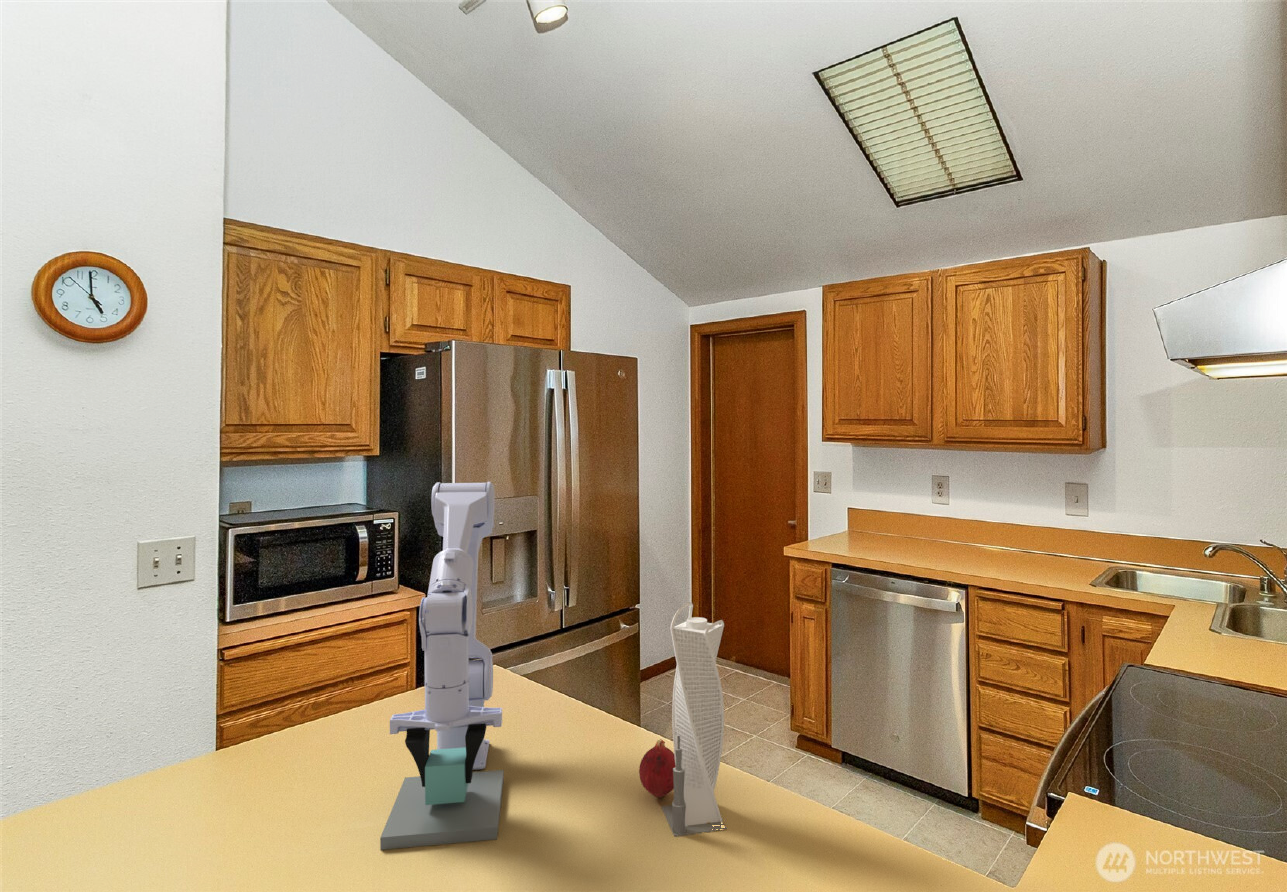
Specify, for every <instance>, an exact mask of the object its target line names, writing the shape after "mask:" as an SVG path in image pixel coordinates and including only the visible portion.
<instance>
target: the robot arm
mask: <svg viewBox="0 0 1287 892" xmlns="http://www.w3.org/2000/svg"><path fill="white" fill-rule="evenodd" d="M431 489H432V490H431V499H430V501H431V504H430V505H431V515H432V517H433V521H434V527H435V529H436V531H437V535H439V536H440V537H443V539H442V550H441V551H439V552H438V553H437V554H436V555H435V556H434V558H433V561H432V566H431V571H430V578H429V584H428V590H427V594H426V595H427V597H425V596H422V598H421V600H420V605H419V609H418V610H419V612H418V613H419V614H418V625H419V632H420V636H421V649H422V651H424V709H421V710H420V709H419V710H413V711H408V712H403V713H394V714H392V716H391V717H390V719H389V735H397V734H399V732H406V736H405V739H404V744H405V746H406V748H407V750H408V751H409V753H410V754H411V756H412V758H413V760H414V763H415V765H416V768H417V770H418V774H419V776H420V777H421V782H422V787H425V766H426V763H427V760H428V757H429V755H430V735H431V733H430V732H431V730H432V731H433V730H435V731H436V750H437V749H450V748H464V747H466V774H465V778H466V783H471V780H472V773H473V770H483V769H486V765H487V759H488V752H489V747H490V739H485V736H486V731H487V727H492V726H493V728H500V727H502V724H503V707H485V701H489V700H490V699H491V698H492V697H493V691H494V690H493V689H494V663H493V653H492V652H493V651H491V648H489V646H487V645H486V644H485V643H483V642H482V641H480V640H479V639H477V637H476V636H477V609H478V608H477V606H478V605H477V604H478V583H479V582H478V580H479V579H478V576H479V553H480V548H481V545H482V542H483V539H484V538H486V537H488V536H489V535H491V534H493V528H494V527H495V510H496V508H495V503H496V496H495V495H496V493H495V485H494V484H493V483H492V482H491V481H487V482H442V483H441V482H440V481H439V482H435V484H434V485H433V486H432V488H431ZM474 659H475V660H474Z"/></svg>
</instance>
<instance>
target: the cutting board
mask: <svg viewBox="0 0 1287 892" xmlns="http://www.w3.org/2000/svg"><path fill="white" fill-rule="evenodd" d="M504 778H505V777H504V769H499V770H497V769H496V770H487V771H484V770H483V771H474V772H473V773H472V780H471V783H469V784H468V788H467V793H466V797H465V802H457V803H445V804H433V805H425V787H422V782H421V777H420V775H419V776H408V777H404V780H403V781H402V783H401V786H400V788H399V791H398V794H397V796H396V799H395V801H394V804H393V806H392V808H391V810H390V812H389V813H390V814H389V816H388V818H387V820H386V823H385V826H384V828H383V830H382V833H381V835H380V837H379V838H380V843H379V845H380V846H379V847H380V849H379V850H381V851H382V850H383V851H384V850H391V849H402V848H415V847H425V846H435V845H446V844H458V843H459V844H460V843H468V842H469V843H470V842H471V843H472V842H478V841H479V842H480V841H491V840H492V841H493V840H497V839H498V833H499V824H500V817H501V816H500V815H501V807H502V806H501V805H502V797H503V787H504V780H505V779H504Z"/></svg>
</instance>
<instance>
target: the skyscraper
mask: <svg viewBox="0 0 1287 892" xmlns="http://www.w3.org/2000/svg"><path fill="white" fill-rule="evenodd" d="M687 607H689V611H688V617H687V618H686V621H684V622H682V623H679V624H677V625H675V623H676V620H677V618H678V615H680V612H681V611H682V610H683V609H685V608H687ZM693 608H694V604H693V602H686V603H684V604H683V605H681V606H680V607H678V609H677V610H676V611H675V614H674V615H673V618H672V621H671V622H670V623H671V624H670V627H669V629H670V634H671V635H670V636H671V639H672V640H671V641H672V645H673V651H674V656H675V661H676V668H675V675H674V681H673V690H672V704H671V705H672V707H671V708H672V711H671V716H672V717H671V720H672V722H671V723H672V725H671V726H672V742H673V753H674V756H675V765H676V767H675V768H673V781H674V789H673V801H671V804H670V805H663V806H661V810H662V812H663V814H664V817H665V818H666V821H667V823H668V825H669V828H670V830H671V832H672V834H673V836H674V837H676V838H677V837H681V836H689V835H690V836H691V835H697V834H696V833H699V834H703V833H702V832H707V833H712V832H711V831H715V830H716V829H718V830H720V829H727V830H728V828H727V826H726V825H725V823H724V821H723V818H722V815H721V814H722V813H721V812H720V809H719V805H718V802H717V799H716V796H715V789H716V785H717V779H718V774H719V770H720V765H721V760H722V759H721V758H722V753H723V745H724V733H725V732H724V731H725V704H724V695H723V689H722V683H721V678H720V674H719V669H718V666H717V657H718V653H719V649H720V648H719V647H720V645H721V640H722V636H723V633H724V628H725V623H724V620H723V619H720V620H717V621H715V622H713V623H712V622H708V619H707V618H705V617H700V616H699V617H698V616H697V617H696V616H694V617H692V615H693V610H694V609H693ZM721 822H723V824H721ZM712 825H720V826H714V827H713V826H712ZM721 825H725V826H726V827H725V828H721ZM712 829H713V830H712ZM715 832H716V831H715Z"/></svg>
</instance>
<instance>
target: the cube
mask: <svg viewBox="0 0 1287 892" xmlns="http://www.w3.org/2000/svg"><path fill="white" fill-rule="evenodd" d="M465 774H466V747H464V748H450V749H437V748H436V749H431V750H430V751H429V757H428V760H427V763H426V766H425V805H433V804H445V803H457V802H465V797H466V793H467V788H468V784H469V783H466V778H465Z"/></svg>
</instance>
